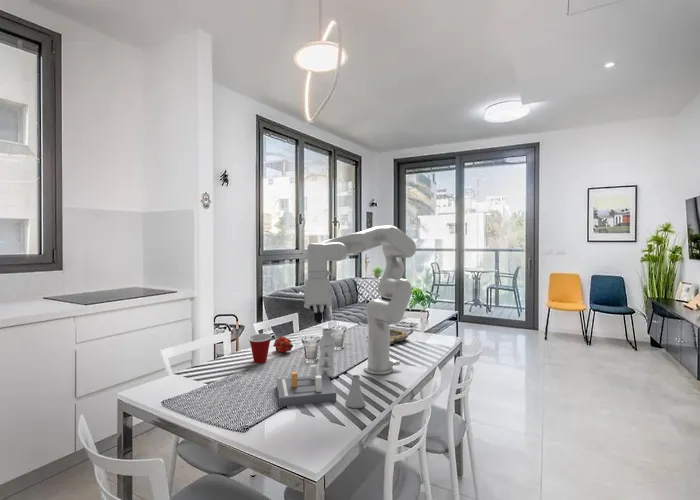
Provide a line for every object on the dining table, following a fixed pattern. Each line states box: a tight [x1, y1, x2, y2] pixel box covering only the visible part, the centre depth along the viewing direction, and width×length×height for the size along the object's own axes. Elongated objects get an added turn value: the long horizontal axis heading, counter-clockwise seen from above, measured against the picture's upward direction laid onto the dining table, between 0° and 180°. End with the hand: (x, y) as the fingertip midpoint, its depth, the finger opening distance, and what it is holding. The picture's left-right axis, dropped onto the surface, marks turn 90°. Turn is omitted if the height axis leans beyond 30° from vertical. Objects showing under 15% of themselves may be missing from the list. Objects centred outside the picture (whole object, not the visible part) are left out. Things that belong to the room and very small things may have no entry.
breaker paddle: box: [290, 371, 298, 387], centre depth 139 cm, size 2×2×5 cm
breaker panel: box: [276, 364, 337, 408], centre depth 140 cm, size 20×18×8 cm
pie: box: [366, 328, 409, 345], centre depth 217 cm, size 28×27×5 cm
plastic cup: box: [248, 333, 273, 364], centre depth 175 cm, size 11×11×12 cm
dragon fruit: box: [272, 335, 294, 355], centre depth 191 cm, size 8×8×12 cm
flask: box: [344, 374, 366, 409], centre depth 131 cm, size 7×7×10 cm
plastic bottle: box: [318, 328, 336, 379], centre depth 157 cm, size 6×7×20 cm
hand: (318, 322), depth 144 cm, fingers closed
